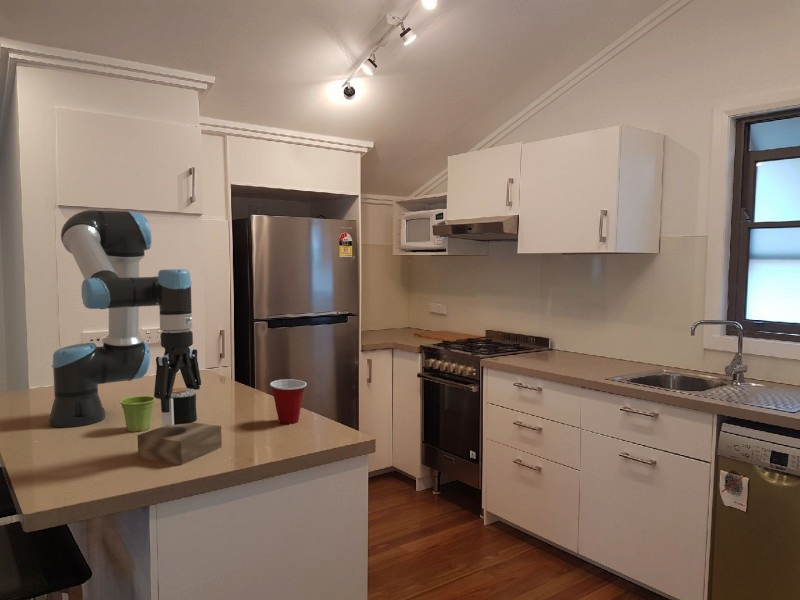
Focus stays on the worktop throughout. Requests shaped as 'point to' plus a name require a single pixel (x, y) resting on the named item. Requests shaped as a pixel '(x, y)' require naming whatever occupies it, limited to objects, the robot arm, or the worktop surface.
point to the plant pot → (138, 412)
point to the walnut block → (179, 442)
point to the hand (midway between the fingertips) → (179, 419)
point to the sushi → (184, 405)
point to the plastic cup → (288, 399)
